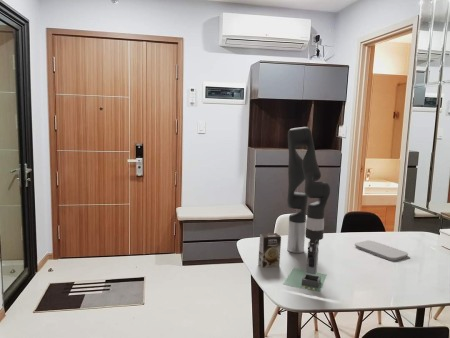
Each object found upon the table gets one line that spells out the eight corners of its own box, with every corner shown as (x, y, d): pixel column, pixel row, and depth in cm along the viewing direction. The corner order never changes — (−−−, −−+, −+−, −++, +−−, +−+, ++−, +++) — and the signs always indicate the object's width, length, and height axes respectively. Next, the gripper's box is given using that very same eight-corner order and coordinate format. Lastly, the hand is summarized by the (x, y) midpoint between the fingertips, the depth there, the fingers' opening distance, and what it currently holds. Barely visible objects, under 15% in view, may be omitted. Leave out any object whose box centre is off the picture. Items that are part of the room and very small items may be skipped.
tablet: (369, 243, 222) (369, 239, 221) (410, 257, 200) (410, 253, 200) (352, 247, 213) (352, 243, 213) (392, 262, 191) (393, 258, 191)
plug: (308, 269, 162) (309, 247, 160) (317, 271, 160) (318, 248, 159) (306, 272, 158) (307, 249, 157) (315, 274, 156) (317, 251, 155)
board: (293, 270, 176) (293, 263, 176) (326, 276, 170) (327, 269, 169) (282, 286, 158) (283, 278, 157) (320, 294, 152) (320, 286, 151)
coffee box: (262, 269, 176) (264, 237, 173) (257, 264, 182) (259, 233, 180) (279, 268, 178) (281, 236, 176) (274, 263, 184) (276, 232, 182)
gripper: (309, 222, 164) (306, 258, 167) (302, 230, 151) (300, 269, 154) (326, 224, 162) (323, 261, 164) (321, 232, 149) (318, 272, 151)
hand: (312, 264), depth 159 cm, fingers closed on plug, 4 cm apart
